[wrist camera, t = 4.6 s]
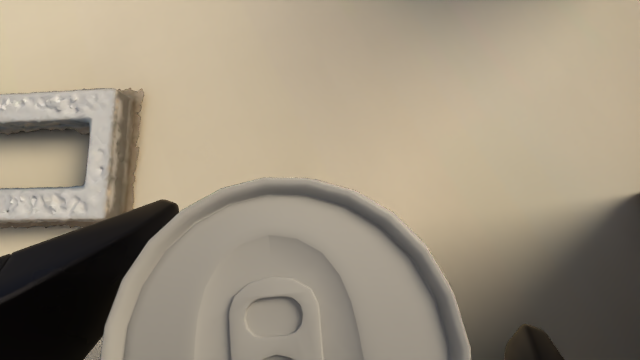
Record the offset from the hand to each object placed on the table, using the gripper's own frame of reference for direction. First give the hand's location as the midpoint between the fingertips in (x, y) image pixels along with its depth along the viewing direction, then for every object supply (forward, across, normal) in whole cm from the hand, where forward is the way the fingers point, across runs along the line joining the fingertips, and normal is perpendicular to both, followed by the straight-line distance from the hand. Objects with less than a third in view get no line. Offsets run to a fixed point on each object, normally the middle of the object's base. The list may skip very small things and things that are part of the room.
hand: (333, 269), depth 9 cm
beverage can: (+4, 0, +6) cm, 7 cm away
